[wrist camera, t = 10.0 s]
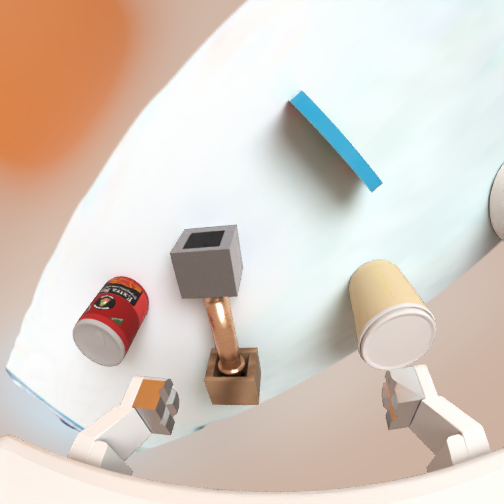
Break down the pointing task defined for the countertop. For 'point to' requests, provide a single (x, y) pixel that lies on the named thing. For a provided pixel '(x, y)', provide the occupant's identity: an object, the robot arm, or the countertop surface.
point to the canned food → (111, 321)
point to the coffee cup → (389, 316)
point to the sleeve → (208, 262)
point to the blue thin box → (335, 139)
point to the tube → (225, 337)
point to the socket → (234, 380)
